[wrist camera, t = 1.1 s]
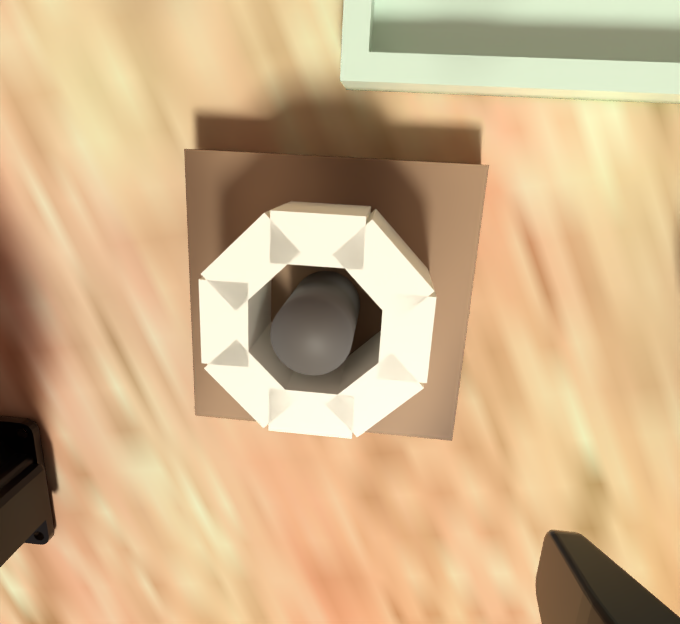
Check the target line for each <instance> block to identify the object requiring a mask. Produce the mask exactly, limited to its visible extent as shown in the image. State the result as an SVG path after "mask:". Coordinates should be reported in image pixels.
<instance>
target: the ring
mask: <svg viewBox="0 0 680 624" xmlns="http://www.w3.org/2000/svg"><path fill="white" fill-rule="evenodd" d="M370 213H371V206H359V205H343V204H326V203H310V202H293V201H291V202H288V203H285V204H283V205H281V206H278V207H276V208H274V209H271V210H269V211H267V212H265V213H263V214H262V215H261V216H260V217H259V218H258V219H257V220H256V221H255V222H254V223H253V224H252V225H251V226H250V227H249V228H248V229H247V230H246V231H245V232H244V233H243V234H242V235H241V236H239V237H238V238H237V239H236V240H235V241H234V242H233V243H232V244H231V245H230V246H229V247H228V248H227V249H226V250H225V251H224V252H223V253H222V254H221V255H220V256H219V257H218V258H217V259H216V260H215V261H214V262H213V263H211V264H210V265H209V266H208V267H207V268H206V269H205V270H204V271H203V272H202V273H201V275H202V276H203V277H202V278H200V279H199V306H200V334H201V362H202V363H205V364H207V366H206V367H205V368H204V369H205V370H206V371H207V372H208V373H209V374H210V375H211V376H212V377H213V378H214V379H215V380H216V381H217V382H218V383H219V384H220V385H221V386H222V387H223V388H224V389H225V390H226V391H227V392H228V393H229V394H230V395H231V396H232V397H233V398H234V399H235V400H236V401H237V402H238V403H239V404H240V405H241V406H242V407H243V408H244V409H245V410H246V411H247V412H248V413H249V414H250V415H251V416H252V417H253V418H254V419H255V420H256V421H257V422H258V423H259V424H260V425H261V426H262V427H263V428H264V427H265V426H266V425H268V424H269V429H268V430H269V431H279V432H289V433H299V434H309V435H319V436H330V437H340V438H350V439H352V434H353V433H354V434H355V435H356V436H357V437H358V436H360V435H361V434H362V433H364V432H365V431H367V430H368V429H369V428H371V427H372V426H373V425H375V424H376V423H377V422H379V421H380V420H381V419H383V418H384V417H386V416H387V415H388V414H390V413H391V412H392V411H394V410H395V409H396V408H398V407H399V406H400V405H402V404H403V403H405V402H406V401H407V400H409V399H410V398H411V397H413V396H414V395H415V394H417V393H418V392H419V391H421V390H422V389H424V385H423V383H427V378H428V369H429V360H430V351H431V342H432V333H433V324H434V315H435V306H436V294H435V291H434V287H433V284H432V281H431V277H430V274H429V271H428V268H427V267H426V266H425V265H424V264H423V263H422V261H421V260H420V259H419V258H418V257H417V256H416V254H415V253H414V252H413V251H412V250H411V249H410V248H409V246H408V245H407V244H406V243H405V242H404V241H403V239H402V238H401V237H400V236H399V235H398V234H397V232H396V231H395V230H394V229H393V228H392V227H391V226H390V224H389V223H388V222H387V221H386V220H385V219H384V217H383V216H382V215H381V214H380V213H379V212H378V210H377V209H375V210H374V211H373V212H372V213H371V214H370ZM287 264H291V265H305V266H319V267H333V268H345V269H346V270H347V271H348V273H349V274H350V275H351V276H352V277H353V278H354V279H355V280H356V281H357V283H358V284H359V285H360V286H361V287H362V288H363V289H364V290H365V292H366V293H367V294H368V295H369V296H370V297H371V298H372V299H373V300H374V302H375V303H376V304H377V305H378V306H379V307H380V308H381V309H382V322H381V331H379V332H378V333H377V334H376V335H374V336H373V337H372V338H371V339H369V340H368V341H367V342H366V343H364V344H363V345H362V346H361V347H359V348H358V349H357V350H356V351H354V352H353V353H352V354H351V355H349V356H348V357H347V358H346V360H345V361H344V362H343V363H342V364H341V365H340V366H339V367H338V368H336V369H335V370H333V371H331V372H329V373H326V374H322V375H304V374H301V373H298V372H295V371H293V370H291V369H290V368H288V367H287V366H286V365H284V364H283V363H282V362H281V361H280V359H279V358H278V357H277V355H276V354H275V352H274V350H273V347H272V344H271V337H270V332H271V325H272V322H271V279H272V278H273V277H274V276H275V275H276V274H277V273H278V272H280V271H281V270H282V269H283V268H284V267H285V266H286V265H287Z"/></svg>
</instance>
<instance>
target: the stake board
mask: <svg viewBox="0 0 680 624" xmlns="http://www.w3.org/2000/svg"><path fill="white" fill-rule="evenodd" d="M184 152H185V177H186V201H187V225H188V249H189V273H190V298H191V322H192V346H193V370H194V395H195V415H196V416H206V417H216V418H226V419H237V420H247V421H256V420H255V419H254V418H253V417H252V416H251V415H250V414H249V413H248V412H247V411H246V410H245V409H244V408H243V407H242V406H241V405H240V404H239V403H238V402H237V401H236V400H235V399H234V398H233V397H232V396H231V395H230V394H229V393H228V392H227V391H226V390H225V389H224V388H223V387H222V386H221V385H220V384H219V383H218V382H217V381H216V380H215V379H214V378H213V377H212V376H211V375H210V374H209V373H208V372H207V371H206V370H205V369H204V368H205V367H206V366H207V364H205V363H202V362H201V334H200V306H199V279H200V278H202V277H203V276H202V275H201V273H202V272H203V271H204V270H205V269H206V268H207V267H208V266H209V265H210V264H211V263H213V262H214V261H215V260H216V259H217V258H218V257H219V256H220V255H221V254H222V253H223V252H224V251H225V250H226V249H227V248H228V247H229V246H230V245H231V244H232V243H233V242H234V241H235V240H236V239H237V238H238V237H239V236H241V235H242V234H243V233H244V232H245V231H246V230H247V229H248V228H249V227H250V226H251V225H252V224H253V223H254V222H255V221H256V220H257V219H258V218H259V217H260V216H261V215H262V214H263V213H265V212H267V211H269V210H271V209H274V208H276V207H278V206H281V205H283V204H285V203H288V202H291V201H293V202H310V203H326V204H343V205H359V206H371V213H372V212H373V211H374V210H375V209H377V210H378V212H379V213H380V214H381V215H382V216H383V217H384V219H385V220H386V221H387V222H388V223H389V224H390V226H391V227H392V228H393V229H394V230H395V231H396V232H397V234H398V235H399V236H400V237H401V238H402V239H403V241H404V242H405V243H406V244H407V245H408V246H409V248H410V249H411V250H412V251H413V252H414V253H415V254H416V256H417V257H418V258H419V259H420V260H421V261H422V263H423V264H424V265H425V266H426V267H427V268H428V271H429V274H430V277H431V281H432V284H433V287H434V291H435V294H436V306H435V315H434V324H433V333H432V342H431V351H430V360H429V369H428V378H427V383H423V385H424V389H422V390H421V391H419V392H418V393H417V394H415V395H414V396H413V397H411V398H410V399H409V400H407V401H406V402H405V403H403V404H402V405H400V406H399V407H398V408H396V409H395V410H394V411H392V412H391V413H390V414H388V415H387V416H386V417H384V418H383V419H381V420H380V421H379V422H377V423H376V424H375V425H373V426H372V427H371V428H369V429H368V430H367V431H365V432H369V433H379V434H390V435H400V436H410V437H420V438H430V439H441V440H451V441H452V437H453V430H454V422H455V415H456V407H457V400H458V392H459V385H460V378H461V370H462V363H463V355H464V348H465V340H466V333H467V325H468V318H469V310H470V303H471V295H472V288H473V280H474V273H475V265H476V258H477V250H478V243H479V235H480V228H481V220H482V213H483V205H484V198H485V190H486V183H487V176H488V168H489V165H481V164H462V163H443V162H424V161H405V160H386V159H367V158H349V157H330V156H311V155H292V154H273V153H254V152H235V151H216V150H196V149H184ZM371 213H370V214H371ZM271 322H272V325H271V332H270V337H271V344H272V347H273V350H274V352H275V354H276V355H277V357H278V358H279V359H280V361H281V362H282V363H283V364H284V365H286V366H287V367H288V368H290V369H291V370H293V371H295V372H298V373H301V374H304V375H322V374H326V373H329V372H331V371H333V370H335V369H336V368H338V367H339V366H340V365H341V364H342V363H343V362H344V361H345V360H346V358H347V357H348V356H349V355H351V354H352V353H353V352H354V351H356V350H357V349H358V348H359V347H361V346H362V345H363V344H364V343H366V342H367V341H368V340H369V339H371V338H372V337H373V336H374V335H376V334H377V333H378V332H379V331H381V322H382V309H381V308H380V307H379V306H378V305H377V304H376V303H375V302H374V300H373V299H372V298H371V297H370V296H369V295H368V294H367V293H366V292H365V290H364V289H363V288H362V287H361V286H360V285H359V284H358V283H357V281H356V280H355V279H354V278H353V277H352V276H351V275H350V274H349V273H348V271H347V270H346V269H345V268H333V267H319V266H305V265H291V264H287V265H286V266H285V267H284V268H283V269H282V270H281V271H280V272H278V273H277V274H276V275H275V276H274V277H273V278H272V279H271Z"/></svg>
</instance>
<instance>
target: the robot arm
mask: <svg viewBox="0 0 680 624" xmlns="http://www.w3.org/2000/svg"><path fill="white" fill-rule="evenodd" d="M24 429H25V430H26V431H27V433H26V432H25V431H24ZM53 535H54V526H53V519H52V512H51V505H50V499H49V492H48V485H47V478H46V472H45V465H44V458H43V451H42V445H41V438H40V431H39V427H38V425H37V424H36V423H35V422H34V421H32V420H31V419H27V418H17V417H7V416H0V567H1V566H2V565H3V564H4V563H5V562H6V561H7V560H8V559H9V558H10V557H11V556H12V554H13V553H14V552H15V551H16V550H17V549H18V548H19V547H20V546H21V545H22V544H23V543H32V544H40V545H41V544H46V543H47V542H48V541H49V540H50V539H51V538H52V537H53ZM536 596H537V602H538V607H539V612H540V617H541V622H542V624H680V617H679V616H677V615H676V614H675V613H674V612H673V611H672V610H670V609H669V608H668V607H667V606H666V605H664V604H663V603H662V602H661V601H660V600H659V599H657V598H656V597H655V596H654V595H653V594H651V593H650V592H649V591H648V590H647V589H646V588H644V587H643V586H642V585H641V584H640V583H638V582H637V581H636V580H635V579H634V578H633V577H631V576H630V575H629V574H628V573H627V572H626V571H624V570H623V569H622V568H621V567H620V566H618V565H617V564H616V563H615V562H614V561H613V560H611V559H610V558H609V557H608V556H607V555H605V554H604V553H603V552H602V551H601V550H600V549H598V548H597V547H596V546H595V545H594V544H592V543H591V542H590V541H589V540H588V539H587V538H585V537H584V536H583V535H581V534H579V533H576V532H569V531H559V530H550V531H549V532H547V534H546V536H545V538H544V542H543V547H542V551H541V556H540V561H539V566H538V571H537V575H536Z"/></svg>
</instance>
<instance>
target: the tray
mask: <svg viewBox="0 0 680 624" xmlns="http://www.w3.org/2000/svg"><path fill="white" fill-rule="evenodd" d="M340 81H341V83H342V84H343V85H344V87H345V88H346V90H364V91H388V92H411V93H435V94H459V95H483V96H507V97H531V98H555V99H579V100H603V101H627V102H651V103H675V104H680V0H344V5H343V27H342V49H341V71H340Z"/></svg>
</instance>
